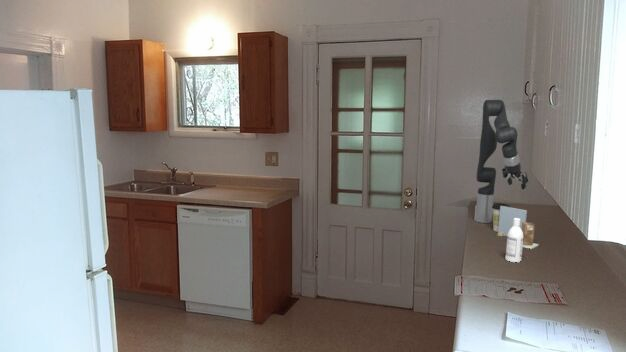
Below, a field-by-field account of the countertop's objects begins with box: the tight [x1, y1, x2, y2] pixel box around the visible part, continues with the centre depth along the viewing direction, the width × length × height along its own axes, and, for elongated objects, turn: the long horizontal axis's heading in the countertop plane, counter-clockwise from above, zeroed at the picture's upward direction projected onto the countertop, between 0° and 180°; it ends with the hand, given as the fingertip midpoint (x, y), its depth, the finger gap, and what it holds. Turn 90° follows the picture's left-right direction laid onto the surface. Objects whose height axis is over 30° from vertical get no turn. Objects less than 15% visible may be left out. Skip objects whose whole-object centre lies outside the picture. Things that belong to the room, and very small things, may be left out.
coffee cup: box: [492, 202, 510, 233], centre depth 282 cm, size 10×10×15 cm
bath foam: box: [504, 218, 524, 263], centre depth 231 cm, size 7×7×20 cm
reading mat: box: [523, 242, 539, 250], centre depth 257 cm, size 9×9×1 cm
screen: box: [497, 206, 528, 237], centre depth 270 cm, size 14×6×16 cm, turn 45°
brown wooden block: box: [521, 221, 535, 246], centre depth 256 cm, size 4×5×11 cm
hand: (517, 186), depth 270 cm, fingers open, 8 cm apart
